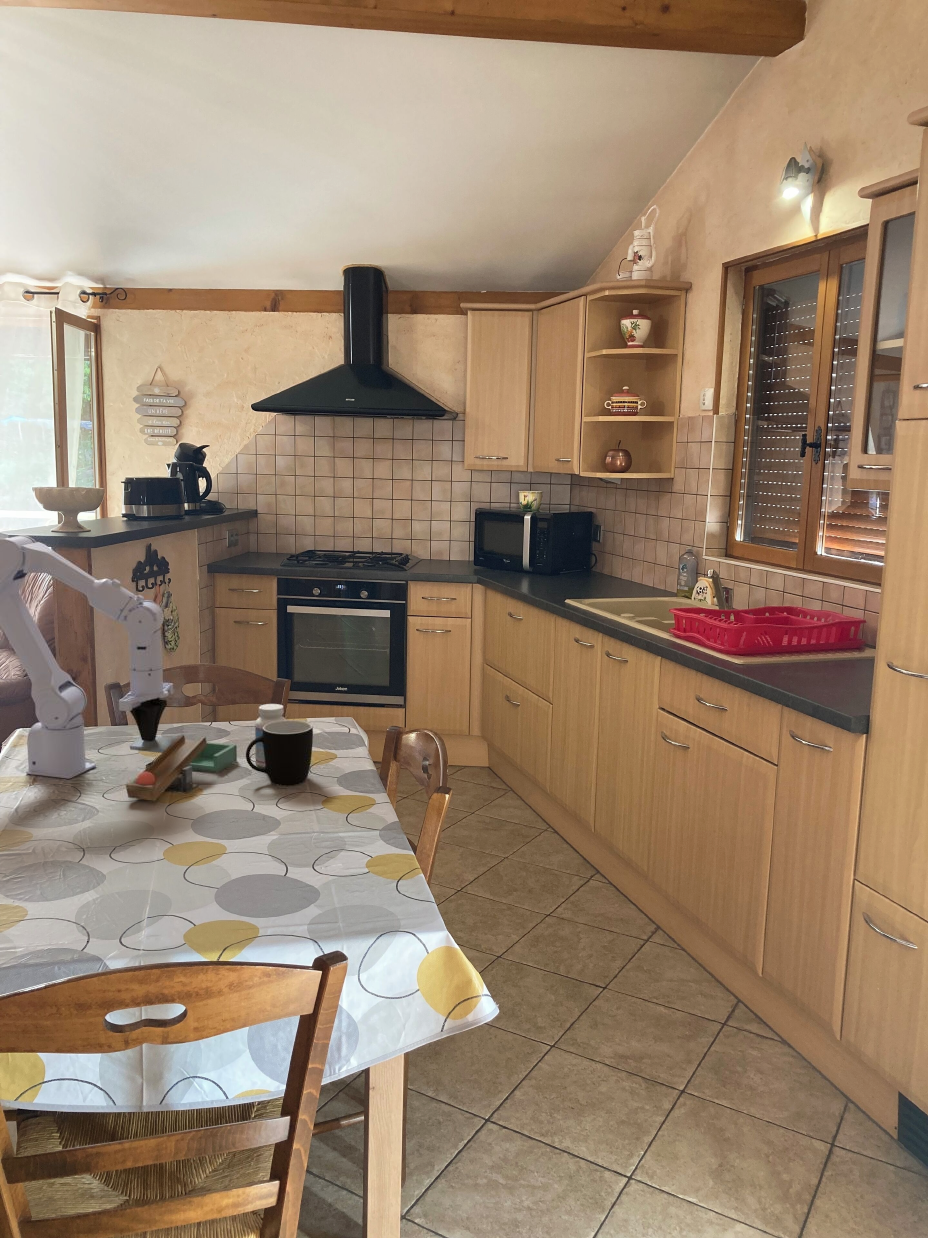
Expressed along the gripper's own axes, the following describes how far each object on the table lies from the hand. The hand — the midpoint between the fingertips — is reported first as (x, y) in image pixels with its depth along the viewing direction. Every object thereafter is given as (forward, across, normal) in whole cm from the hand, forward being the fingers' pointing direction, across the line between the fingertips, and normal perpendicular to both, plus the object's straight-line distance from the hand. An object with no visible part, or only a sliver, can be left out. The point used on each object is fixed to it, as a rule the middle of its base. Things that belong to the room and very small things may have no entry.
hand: (148, 739), depth 175 cm
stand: (+6, -7, -8) cm, 12 cm away
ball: (+2, -14, -8) cm, 17 cm away
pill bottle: (+6, +11, -20) cm, 23 cm away
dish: (+6, +6, -8) cm, 12 cm away
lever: (+3, -7, -4) cm, 9 cm away
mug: (+6, +2, -26) cm, 26 cm away
